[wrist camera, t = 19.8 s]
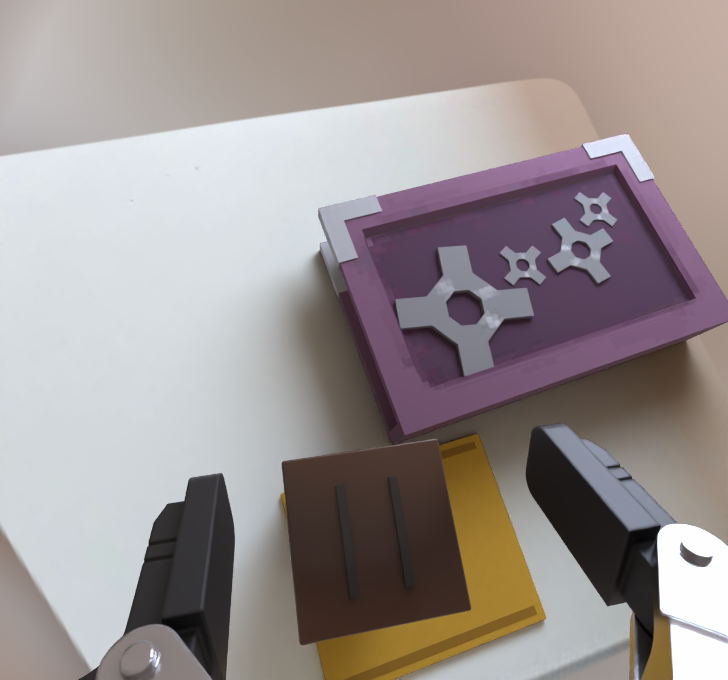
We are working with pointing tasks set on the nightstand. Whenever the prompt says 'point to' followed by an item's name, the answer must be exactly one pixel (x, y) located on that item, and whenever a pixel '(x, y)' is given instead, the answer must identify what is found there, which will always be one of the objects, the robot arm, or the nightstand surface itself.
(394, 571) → the knife block
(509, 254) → the book
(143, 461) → the nightstand surface
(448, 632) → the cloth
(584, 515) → the robot arm
